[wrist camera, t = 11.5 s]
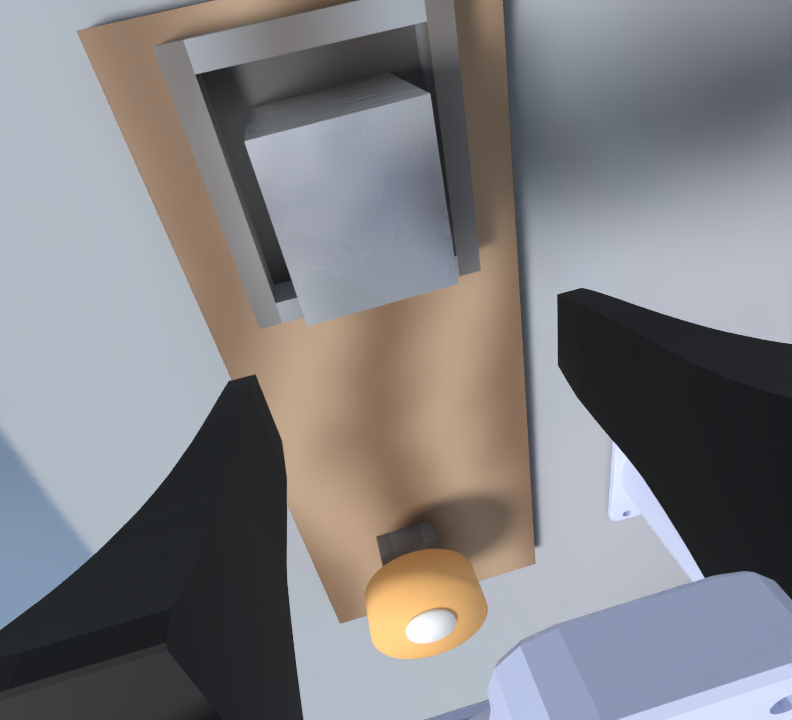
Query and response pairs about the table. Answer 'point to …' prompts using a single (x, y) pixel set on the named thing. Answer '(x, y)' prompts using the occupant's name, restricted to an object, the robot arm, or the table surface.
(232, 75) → the wooden fixture board
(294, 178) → the brushed metal cube
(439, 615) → the wheel
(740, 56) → the table surface
